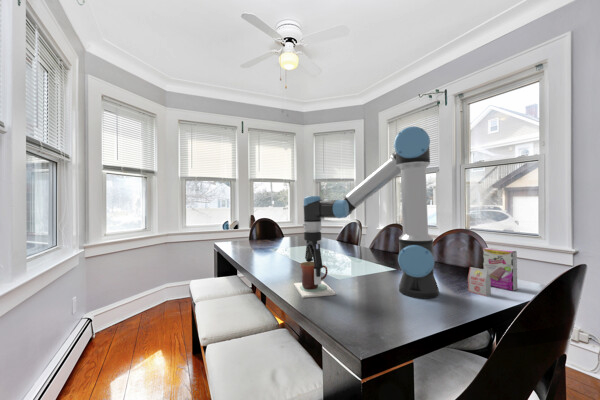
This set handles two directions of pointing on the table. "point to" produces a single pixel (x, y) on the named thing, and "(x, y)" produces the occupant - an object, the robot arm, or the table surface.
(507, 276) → the candy bar box
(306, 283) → the mug
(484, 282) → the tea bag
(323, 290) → the card
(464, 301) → the table surface
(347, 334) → the table surface
